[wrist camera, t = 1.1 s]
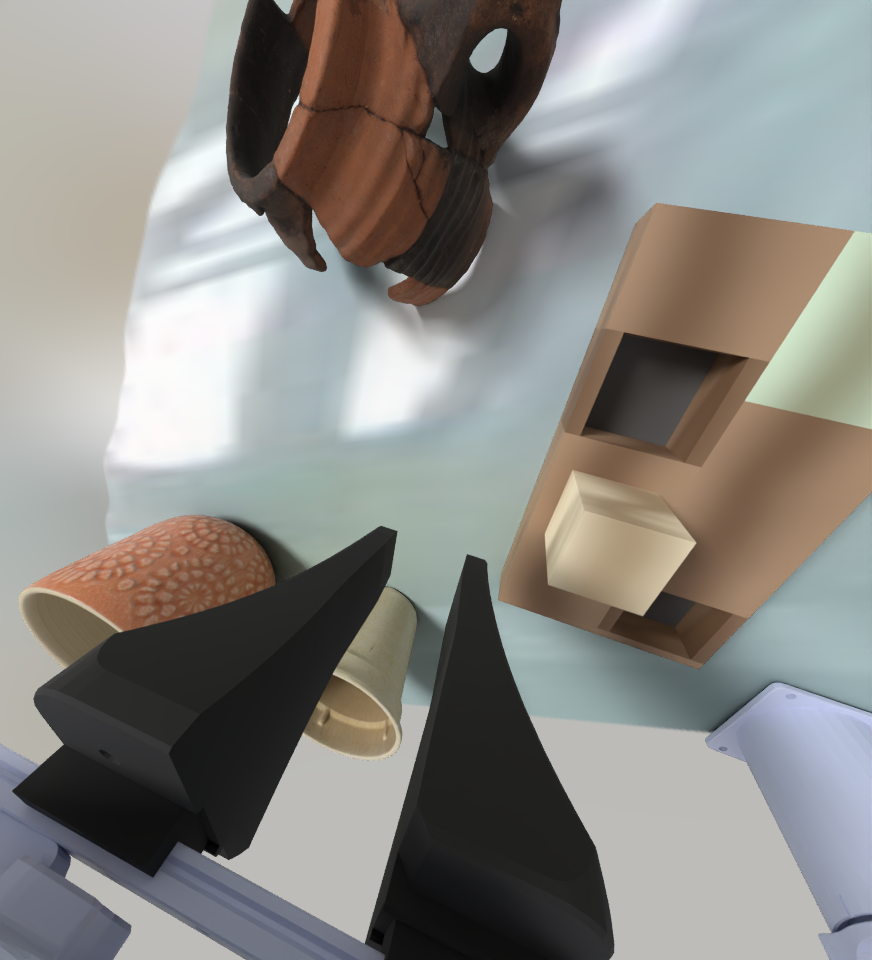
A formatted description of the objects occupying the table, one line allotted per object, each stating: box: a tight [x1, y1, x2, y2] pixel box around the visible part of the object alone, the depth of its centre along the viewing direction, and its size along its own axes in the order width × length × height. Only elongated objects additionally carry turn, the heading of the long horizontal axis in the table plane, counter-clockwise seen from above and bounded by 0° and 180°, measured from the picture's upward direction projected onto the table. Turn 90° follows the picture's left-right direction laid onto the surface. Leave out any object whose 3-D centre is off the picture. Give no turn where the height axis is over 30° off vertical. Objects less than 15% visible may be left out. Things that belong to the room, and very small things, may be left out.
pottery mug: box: [226, 0, 562, 306], centre depth 12 cm, size 12×9×8 cm
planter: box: [19, 515, 276, 669], centre depth 25 cm, size 12×12×11 cm
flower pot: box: [302, 587, 417, 761], centre depth 24 cm, size 9×9×9 cm
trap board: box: [498, 203, 872, 669], centre depth 16 cm, size 12×20×2 cm, turn 169°
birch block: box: [545, 470, 696, 616], centre depth 14 cm, size 4×4×4 cm
